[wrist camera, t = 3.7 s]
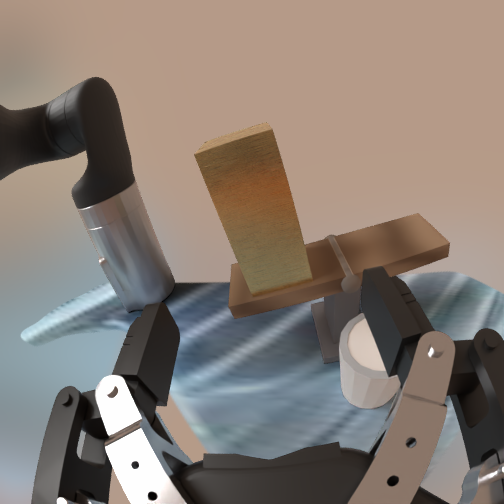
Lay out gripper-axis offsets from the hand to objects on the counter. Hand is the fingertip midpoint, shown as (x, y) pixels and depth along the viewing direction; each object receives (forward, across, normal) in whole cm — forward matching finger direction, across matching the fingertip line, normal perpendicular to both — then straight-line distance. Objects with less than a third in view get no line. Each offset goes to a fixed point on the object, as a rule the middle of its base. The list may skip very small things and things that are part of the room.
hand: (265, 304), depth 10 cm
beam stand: (+11, +6, -17) cm, 21 cm away
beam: (+11, +6, -7) cm, 15 cm away
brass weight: (+11, +1, -7) cm, 13 cm away
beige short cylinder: (+4, +8, -17) cm, 19 cm away
